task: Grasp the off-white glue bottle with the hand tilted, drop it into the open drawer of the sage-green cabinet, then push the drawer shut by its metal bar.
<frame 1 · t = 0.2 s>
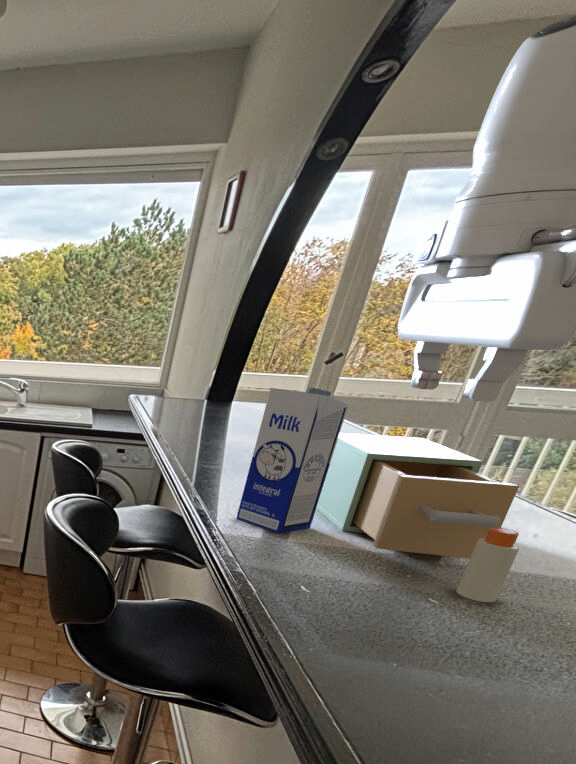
hand: (448, 394, 58), 23 cm above the countertop, tool pointing down, fingers open, 8 cm apart
glue: (475, 596, 67), on the countertop
drawer: (423, 506, 78), point 6 cm above the countertop, slide at 8.0 cm
cabinet: (370, 519, 91), on the countertop
milk carton: (271, 524, 89), on the countertop
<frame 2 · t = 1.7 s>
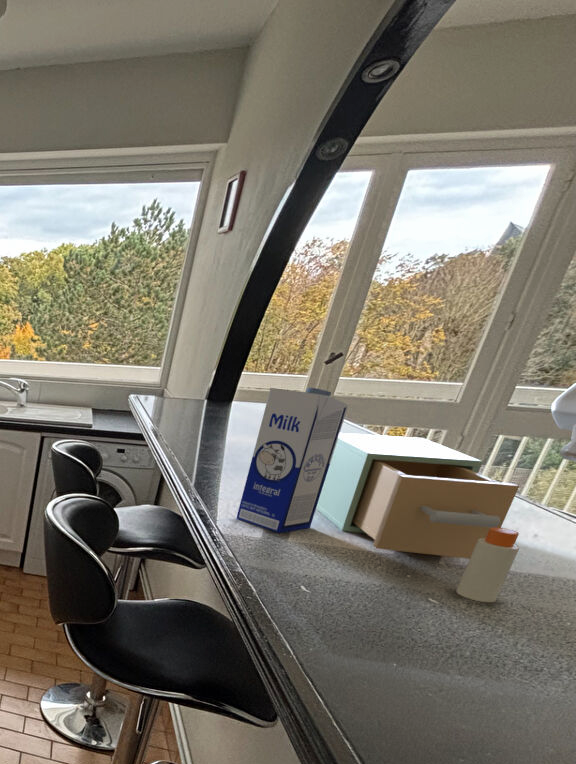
nothing on the countertop moved.
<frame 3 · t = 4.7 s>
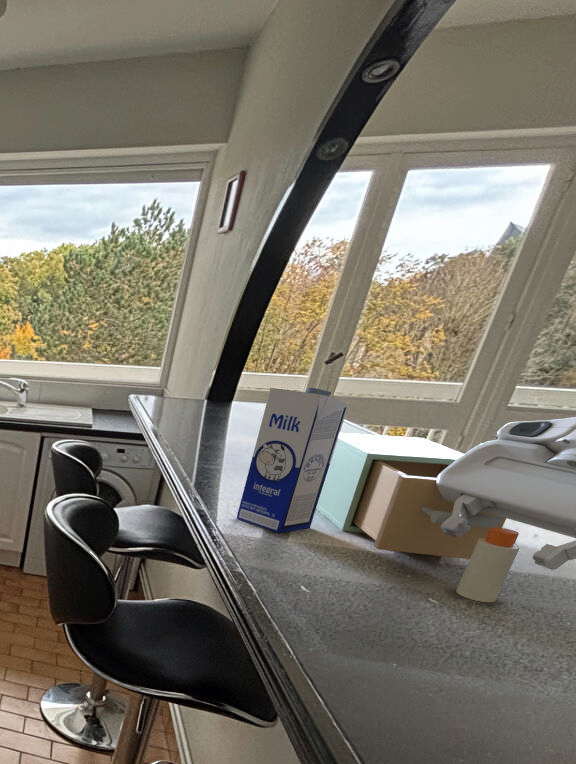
hand: (492, 546, 65), 6 cm above the countertop, tool tilted 45°, fingers open, 8 cm apart
drawer: (424, 507, 78), point 6 cm above the countertop, slide at 8.2 cm, touching gripper
everything else where it was.
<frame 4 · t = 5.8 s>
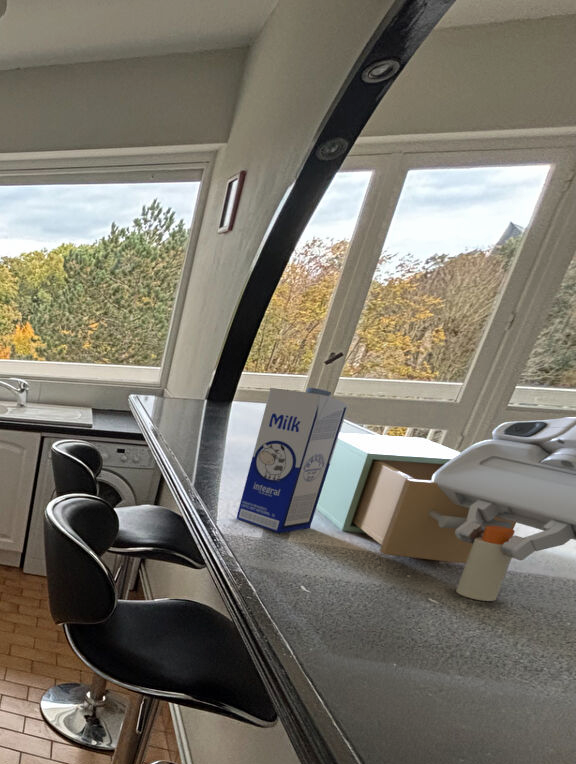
hand: (485, 545, 65), 6 cm above the countertop, tool tilted 45°, fingers closed on glue, 3 cm apart
glue: (475, 595, 67), on the countertop, touching gripper
drawer: (431, 511, 77), point 6 cm above the countertop, slide at 10.0 cm, touching gripper
everything else where it was.
when the fingers open (12 cm above the countertop, at t = 13.1 s): glue drops 4 cm, resting on drawer.
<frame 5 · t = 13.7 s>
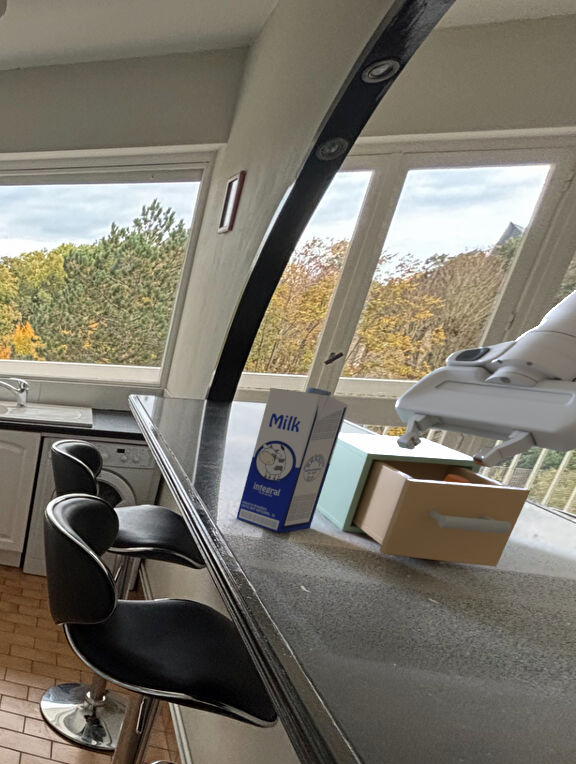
hand: (439, 454, 76), 13 cm above the countertop, tool tilted 45°, fingers open, 8 cm apart
glue: (418, 530, 80), point 2 cm above the countertop, tilted 13°, touching drawer
drawer: (431, 511, 77), point 6 cm above the countertop, slide at 10.0 cm, touching glue
everything else where it was.
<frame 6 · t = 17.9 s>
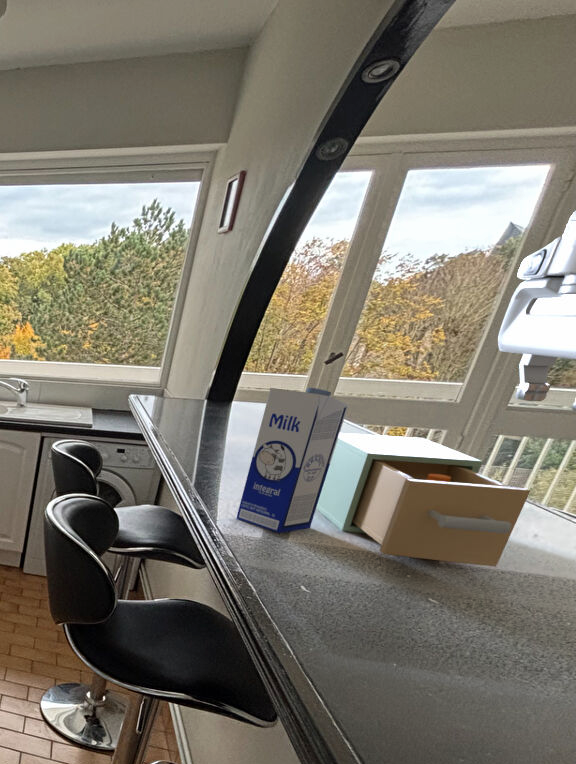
hand: (556, 406, 59), 21 cm above the countertop, tool pointing down, fingers open, 7 cm apart
glue: (417, 532, 80), point 2 cm above the countertop, touching drawer
everything else where it was.
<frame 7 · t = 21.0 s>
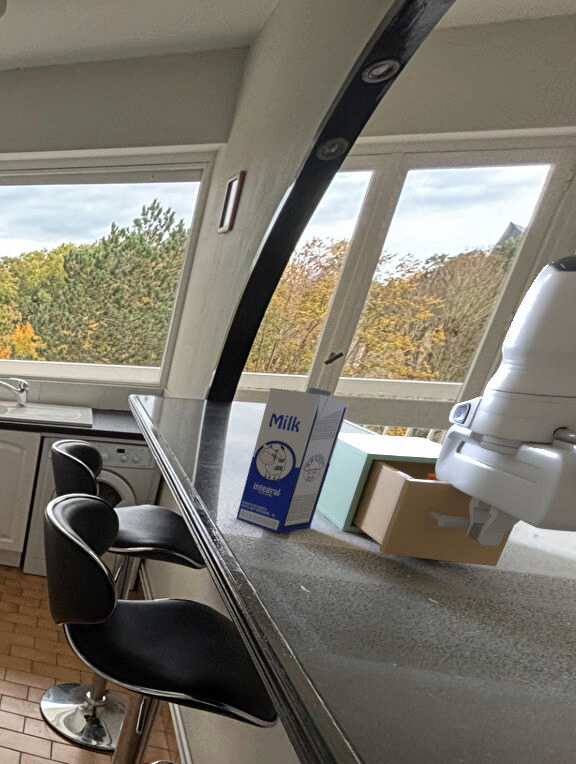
hand: (481, 541, 67), 6 cm above the countertop, tool pointing down, fingers closed
drawer: (431, 510, 77), point 6 cm above the countertop, slide at 9.9 cm, touching glue, gripper
everything else where it was.
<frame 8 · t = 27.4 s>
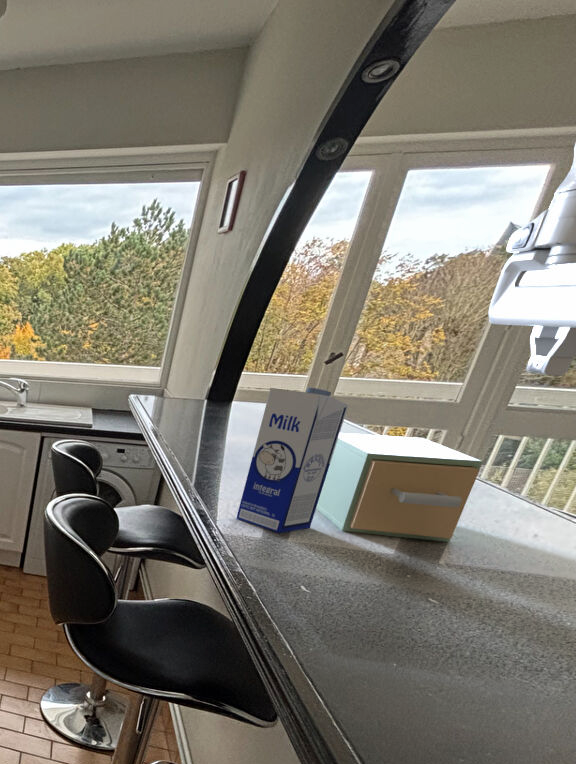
hand: (544, 374, 61), 24 cm above the countertop, tool pointing down, fingers closed
glue: (384, 510, 89), point 2 cm above the countertop, touching drawer
drawer: (395, 490, 85), point 6 cm above the countertop, slide at 0.0 cm, touching cabinet, glue
everything else where it was.
at the end: glue inside the target area in the cabinet (1.5 cm from its centre), point 2.0 cm above the cabinet's base; drawer slide at 0.0 cm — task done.
